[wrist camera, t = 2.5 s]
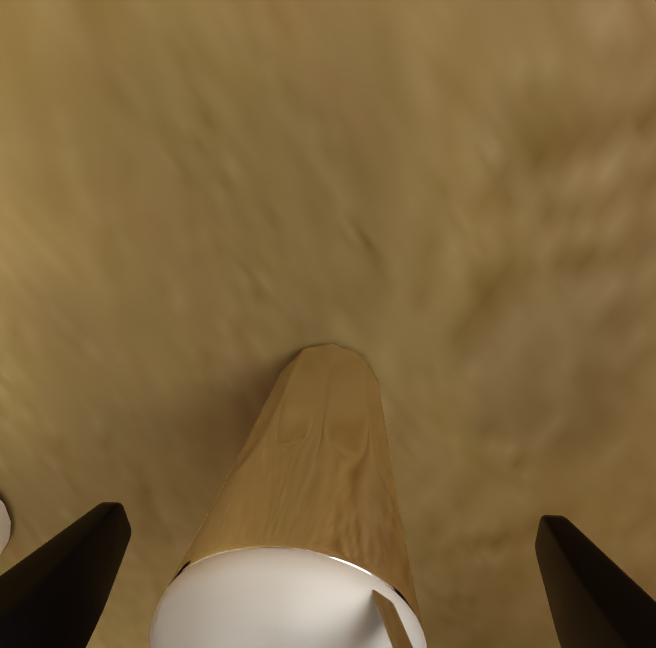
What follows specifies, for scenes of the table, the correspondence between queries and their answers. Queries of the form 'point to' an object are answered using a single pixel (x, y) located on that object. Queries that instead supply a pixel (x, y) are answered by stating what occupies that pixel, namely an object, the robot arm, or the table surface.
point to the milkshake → (302, 527)
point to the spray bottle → (4, 526)
